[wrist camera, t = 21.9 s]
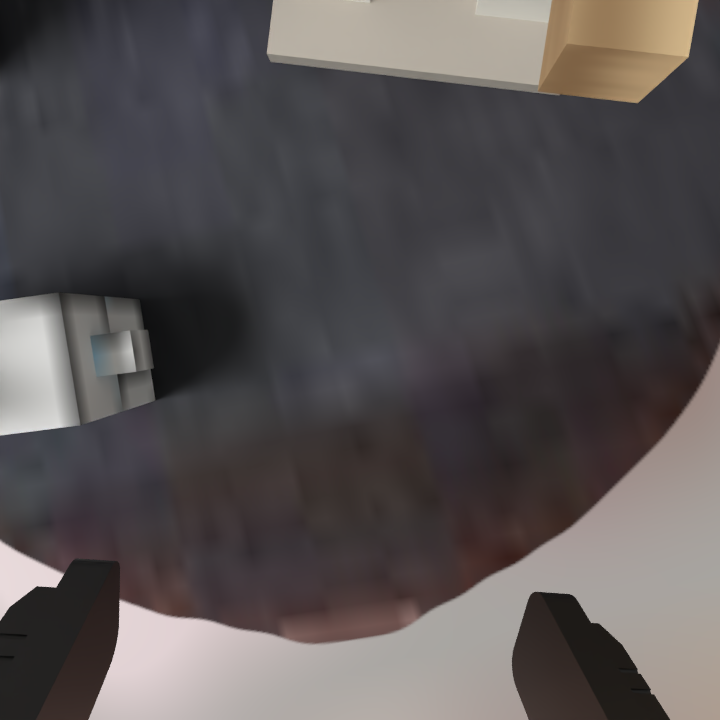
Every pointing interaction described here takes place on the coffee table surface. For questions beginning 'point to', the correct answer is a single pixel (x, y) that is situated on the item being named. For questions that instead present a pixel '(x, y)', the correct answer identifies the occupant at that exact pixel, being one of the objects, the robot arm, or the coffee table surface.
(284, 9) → the two-step rack
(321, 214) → the coffee table surface
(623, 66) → the wooden slat
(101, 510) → the coffee table surface
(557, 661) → the robot arm
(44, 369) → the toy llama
